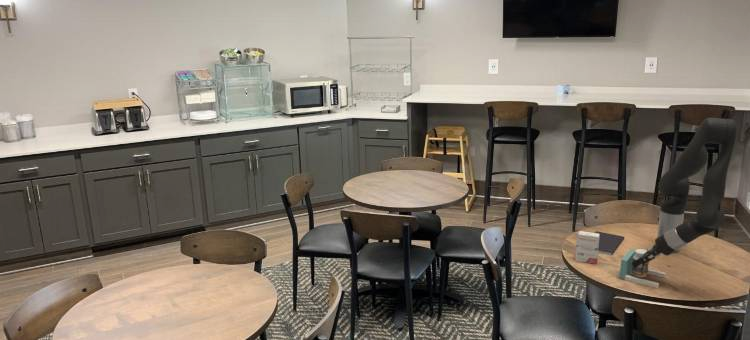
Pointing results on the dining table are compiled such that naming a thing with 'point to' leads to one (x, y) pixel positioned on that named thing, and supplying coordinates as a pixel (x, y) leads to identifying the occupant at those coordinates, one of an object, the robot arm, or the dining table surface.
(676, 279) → the dining table surface
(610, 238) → the notebook
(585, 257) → the ink box
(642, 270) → the pill bottle
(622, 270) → the pocket
